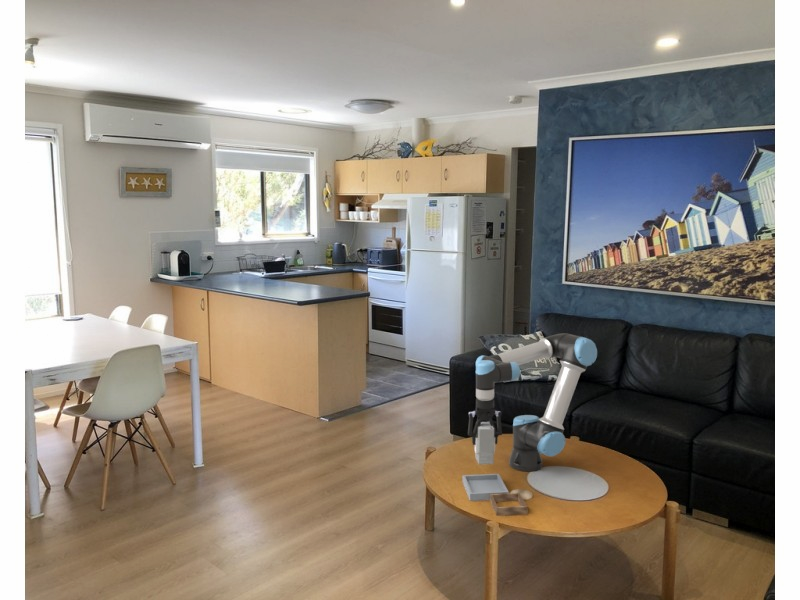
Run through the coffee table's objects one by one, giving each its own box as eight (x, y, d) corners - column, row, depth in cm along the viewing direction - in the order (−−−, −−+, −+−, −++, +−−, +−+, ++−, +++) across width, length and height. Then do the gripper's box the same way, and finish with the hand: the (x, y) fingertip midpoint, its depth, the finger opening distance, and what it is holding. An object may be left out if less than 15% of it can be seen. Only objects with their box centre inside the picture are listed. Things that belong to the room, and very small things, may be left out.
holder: (519, 499, 247) (519, 492, 247) (527, 514, 235) (527, 506, 235) (489, 501, 247) (489, 494, 246) (496, 515, 235) (496, 508, 234)
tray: (498, 480, 266) (498, 473, 265) (508, 499, 248) (508, 492, 248) (462, 481, 265) (462, 475, 264) (469, 500, 247) (469, 493, 247)
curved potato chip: (529, 489, 256) (529, 488, 256) (535, 499, 247) (535, 498, 247) (508, 490, 256) (508, 489, 256) (513, 500, 247) (513, 499, 247)
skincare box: (474, 457, 259) (473, 421, 257) (491, 456, 259) (490, 420, 257) (478, 465, 250) (477, 428, 248) (496, 464, 251) (494, 427, 249)
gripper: (506, 394, 255) (505, 447, 258) (460, 396, 254) (460, 449, 257) (510, 399, 248) (510, 454, 251) (463, 401, 247) (463, 455, 250)
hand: (484, 451), depth 254 cm, fingers closed on skincare box, 7 cm apart
